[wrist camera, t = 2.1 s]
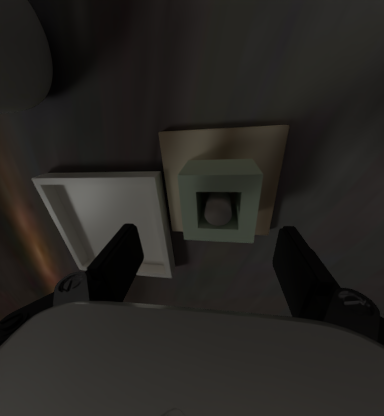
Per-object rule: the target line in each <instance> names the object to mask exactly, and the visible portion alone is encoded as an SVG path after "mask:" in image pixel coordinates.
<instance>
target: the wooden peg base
mask: <svg viewBox="0 0 384 416" xmlns="http://www.w3.org/2000/svg"><path fill="white" fill-rule="evenodd" d="M288 130H289V125H271V126H253V127H235V128H216V129H198V130H180V131H162V132H158V133H159V140H160V147H161V154H162V161H163V168H164V175H165V182H166V189H167V196H168V203H169V211H170V218H171V225H172V231H183V224H182V215H181V205H180V196H179V186H178V176H177V175H178V174H179V172H180V171H181V170H182V168H183V167H184V166H185V164H186V163H187V161H188V160H221V159H253V160H254V162H255V163H256V165H257V166H258V167H259V169H260V170H261V172H262V173H263V180H262V187H261V194H260V201H259V208H258V215H257V221H256V228H255V235H268V234H269V229H270V224H271V219H272V213H273V208H274V203H275V198H276V193H277V187H278V182H279V177H280V172H281V167H282V161H283V156H284V151H285V146H286V141H287V136H288ZM235 193H236V192H203V203H206V208H205V218H206V220H207V221H208V222H209V223H210V224H212V225H215V226H221V225H225V224H226V223H228V222H229V221H230V219H231V216H232V212H231V204H235Z"/></svg>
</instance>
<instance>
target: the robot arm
mask: <svg viewBox="0 0 384 416" xmlns="http://www.w3.org/2000/svg"><path fill="white" fill-rule="evenodd" d="M143 260H144V253H143V249H142V245H141V241H140V237H139V233H138V229H137V226H135V225H134V224H130V223H125V224H124V225H123V226H122V227H121V228H120V229H119V231H118V232H117V233H116V234H115V235H114V236H113V238H112V239H111V240H110V241H109V242H108V244H107V245H106V246H105V247H104V248H103V249H102V251H101V252H100V253H99V254H98V255H97V256H96V258H95V259H94V260H93V261H92V262H91V264H90V265H89V266H88V267H87V271H86V272H85V273H84V272H74V273H71V274H69V275H67V276H65V277H64V278H63V279H61V280H60V281H59V282H58V283H57V285H56V286H55V290H54V292H53V293H51V294H49V295H47V296H45V297H43V298H41V299H39V300H37V301H35V302H33V303H31V304H28V305H26V306H24V307H22V308H20V309H18V310H16V311H14V312H12V313H11V314H9V315H8V316H6V317H5V318H3V319H2V320H1V321H0V416H384V318H382V317H380V311H379V309H378V307H377V306H376V305H375V303H374V302H373V301H372V300H370V299H369V298H368V297H367V296H365V295H363V294H362V293H360V292H358V291H355V290H353V289H349V288H341V287H340V286H339V285H338V283H337V282H336V281H335V279H334V278H333V277H332V275H331V274H330V272H329V271H328V270H327V268H326V267H325V266H324V264H323V263H322V262H321V260H320V259H319V257H318V256H317V255H316V253H315V252H314V251H313V250H312V249H310V247H309V246H308V244H307V243H306V242H305V240H304V239H303V237H302V236H301V235H300V233H299V232H298V231H297V229H296V228H295V227H294V226H284V227H283V228H282V229H280V230H279V234H278V239H277V243H276V248H275V252H274V257H273V267H274V270H275V272H276V275H277V278H278V280H279V283H280V285H281V288H282V290H283V293H284V296H285V298H286V301H287V303H288V306H289V309H290V311H291V314H292V316H293V317H287V316H278V315H268V314H257V313H246V312H235V311H224V310H213V309H201V308H189V307H177V306H165V305H152V304H139V303H127V302H123V300H124V298H125V296H126V294H127V292H128V290H129V288H130V286H131V284H132V282H133V280H134V278H135V276H136V274H137V272H138V270H139V268H140V266H141V264H142V262H143Z"/></svg>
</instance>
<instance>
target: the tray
mask: <svg viewBox="0 0 384 416" xmlns="http://www.w3.org/2000/svg"><path fill="white" fill-rule="evenodd" d="M31 179H32V181H33V183H34V185H35V187H36V189H37V190H38V192H39V194H40V196H41V198H42V200H43V202H44V204H45V205H46V207H47V209H48V211H49V213H50V215H51V217H52V219H53V220H54V222H55V224H56V226H57V228H58V230H59V232H60V234H61V235H62V237H63V239H64V241H65V243H66V245H67V247H68V249H69V250H70V252H71V254H72V256H73V258H74V260H75V262H76V264H77V266H78V267H79V269H80V270H87V267H88V266H89V265H90V264H91V262H92V261H93V260H94V259H95V258H96V256H97V255H98V254H99V253H100V252H101V251H102V249H103V248H104V247H105V246H106V245H107V244H108V242H109V241H110V240H111V239H112V238H113V236H114V235H115V234H116V233H117V232H118V231H119V229H120V228H121V227H122V226H123V225H124V224H125V223H130V224H134V225H135V226H137V229H138V233H139V237H140V241H141V245H142V249H143V253H144V260H143V262H142V264H141V266H140V268H139V270H138V272H137V274H136V275H143V276H154V277H165V278H172V276H173V273H174V269H175V261H174V254H173V248H172V241H171V234H170V228H169V221H168V214H167V208H166V201H165V194H164V188H163V181H162V174H161V171H141V172H75V173H46V174H43V175H40V176H37V177H34V178H31Z"/></svg>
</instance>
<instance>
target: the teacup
mask: <svg viewBox="0 0 384 416" xmlns="http://www.w3.org/2000/svg"><path fill="white" fill-rule="evenodd" d="M52 77H53V65H52V57H51V52H50V48H49V44H48V40H47V38H46V35H45V32H44V30H43V28H42V25H41V23H40V21H39V19H38V17H37V15H36V13H35V11H34V10H33V8H32V6H31V5H30V3H29V1H28V0H0V113H10V112H17V111H23V110H27V109H30V108H33V107H35V106H36V105H38V104H39V103H41V102H42V101H43V100H44V99H45V97H46V96H47V94H48V92H49V90H50V87H51V83H52Z"/></svg>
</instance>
